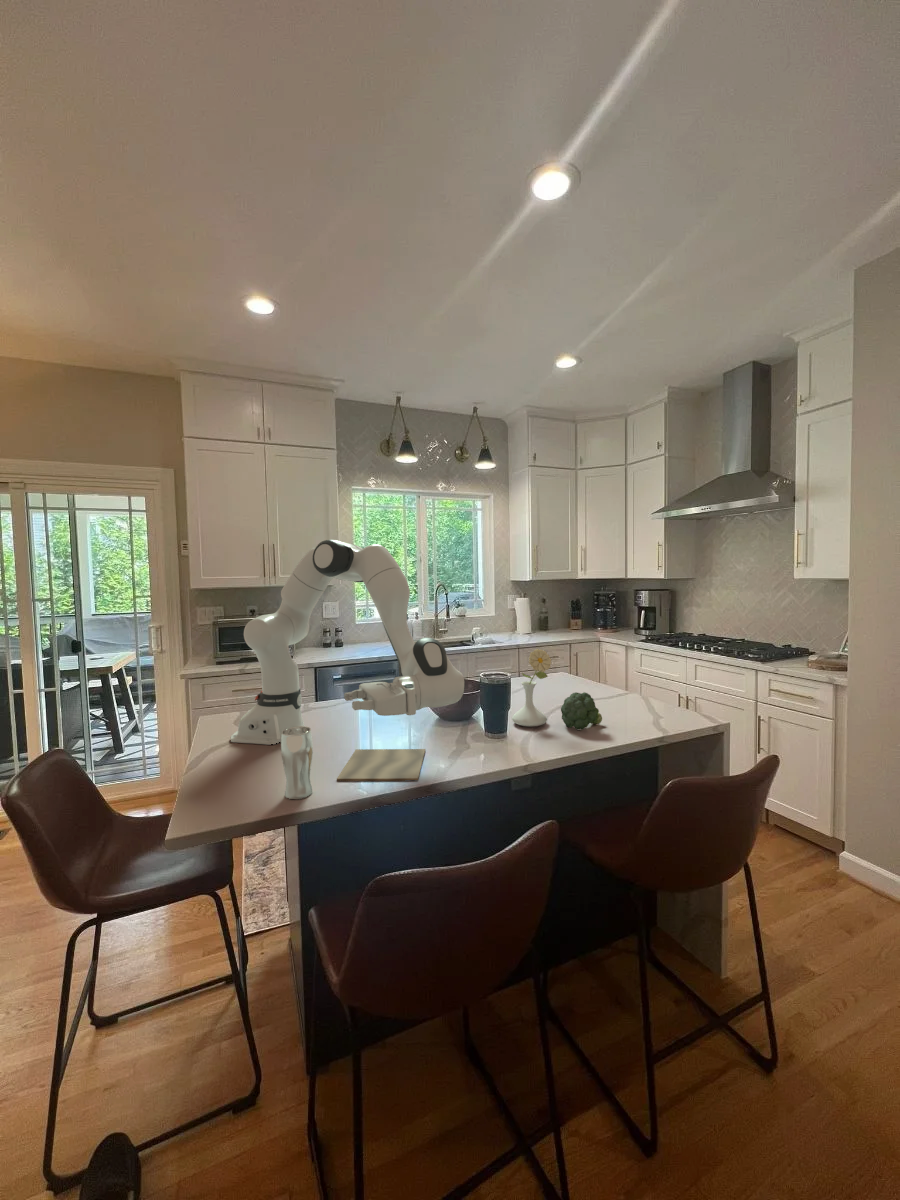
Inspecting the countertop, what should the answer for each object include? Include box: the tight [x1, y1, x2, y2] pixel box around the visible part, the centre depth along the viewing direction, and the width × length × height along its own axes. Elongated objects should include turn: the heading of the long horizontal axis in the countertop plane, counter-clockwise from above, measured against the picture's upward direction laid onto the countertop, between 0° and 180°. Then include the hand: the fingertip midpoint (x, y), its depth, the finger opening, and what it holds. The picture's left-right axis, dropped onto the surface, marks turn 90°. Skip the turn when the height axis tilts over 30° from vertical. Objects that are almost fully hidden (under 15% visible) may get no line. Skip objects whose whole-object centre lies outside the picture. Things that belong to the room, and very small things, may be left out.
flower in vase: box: [511, 648, 552, 727], centre depth 162 cm, size 13×11×25 cm
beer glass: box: [280, 725, 314, 800], centre depth 114 cm, size 7×7×15 cm
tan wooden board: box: [336, 748, 426, 782], centre depth 131 cm, size 20×20×1 cm
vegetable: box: [560, 691, 603, 730], centre depth 158 cm, size 12×13×15 cm
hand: (348, 701), depth 119 cm, fingers open, 8 cm apart
